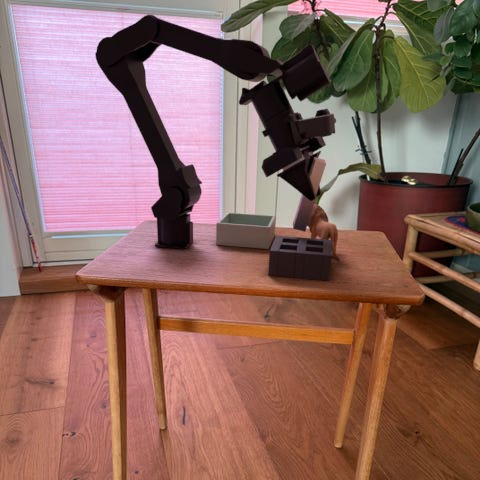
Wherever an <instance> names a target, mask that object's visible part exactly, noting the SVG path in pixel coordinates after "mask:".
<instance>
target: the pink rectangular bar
mask: <svg viewBox="0 0 480 480" xmlns="http://www.w3.org/2000/svg"><path fill="white" fill-rule="evenodd" d="M326 166H327V162H326V160H325V159H323V158H320V157H318V158H316V157H314V159H313V163H312V166H311V169H310V172H309V176H310V180H311V183H312V186H313V189H314V192H315V196H316V194H317V191H318V188H319V185H320V184H321V182H322V178H323V175H324V172H325V169H326ZM316 200H317V198H316V199H314V200H312V201H310V200H309V199H307V198H306V197H305V196H304V195H303V194H301V195H300V199H299V202H298V205H297V208H296V212H295V214H294V218H293V221H292V229H293V230H295V231H300V232H306V230H307V227H308V226H307V225H308V222H309V219H310V215H311V212H312V209H313V206H314V204H316Z"/></svg>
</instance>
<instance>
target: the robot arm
mask: <svg viewBox="0 0 480 480" xmlns="http://www.w3.org/2000/svg"><path fill="white" fill-rule="evenodd" d="M162 45H163V46H165V47H168V48H172V49H175V50H178V51H181V52H184V53H187V54H190V55H192V56H194V57H198V58H201V59H204V60H206V61H210V62H212V63H213V64H215V65H217V66H218V67H220V68H222V69H223V70H225V71H226V72H228V73H230V74H231V75H233V76H235V77H236V78H238V79H241V80H243V81H247V82H251V83H257V84H256V85H254V86H253V87H251V88H250V89H249V88H247V87H242V88H241V94H240V97H239V99H238V104H239V105H240V106H248V105H249V104H251V103H252V104H251V105H253V108H254V110H255V112H256V114H257V115H258V118H259V120H260V122H261V124H262V126H263V131H261V133H262V135H263V137H264V138H266V137H268V138H269V140H270V143H271V145H272V146H273V149H274V152H273V153H272V154H271V155H268V157H266V158H264V159H263V160H262V165H261V170H262V173H263V174H264V175H265V178H268V177H270V176H272V175H274V174H275V173H277V174H276V177H278V178H281V179H282V180H283V181H285V182H286V183H287V184H289V185H290V186H291V187H293V189H295V190H296V191H298V192H299V193H300V194H301V195H302V194H303V195H304V196H305V197H306V198H307V199H309V200H310V201H312V200H314V199H316V200H317V197H318V196H321V194H322V191H321V186H320V185H319V188H318V191H317V194H316V196H315V192H314V189H313V186H312V183H311V180H310V176H309V172H310V169H311V166H312V163H313V159H314V157H316V158H320V155H321V153H322V150H320V149H322V148H324V147H326V146H327V144H326V141H325V140H324V138H325V137H330V136H332V135H333V134H336V125H335V124H336V123H337V119H336V117H335V114H334V113H331V112H330V110H329V108H323V109H318V110H316V112H315V115H314V116H312V117H307V118H303V116H302V114H301V113H300V112H299V111H297V112H295V111H294V109H293V107H292V105H291V103H290V100H294V99H296V98H297V99H298V100H299V102H303V101H304V100H306V99H308V98H309V97H311V96H313V95H314V94H316V93H317V92H319V91H320V90H322V89H324V88H325V87H327V86H329V85H330V84H331V78H330V77H329V74H328V71H327V69H326V66H325V64H324V63H323V62H322V61H321V59H320V57H319V55H318V53H317V50H316V49H315V47H314V45H313V44H312V43H308V44H307V45H305V46H304V47H303V48H302V49H301V50H300V51H299V52H297V53H296V54H295V55H293V56H292V57H290V58H288V59H287V60H285V61H284V62H283V61H281V60H280V59H277V58H275V59H272V58H271V55H270V53H269V50H267V48H265V47H264V46H262V45H260V44H258V43H256V42H254V40H248V39H238V38H221V37H215V36H212V35H210V34H209V35H208V34H206V33H203V32H200V31H197V30H194V29H192V28H188V27H185V26H182V25H179V24H176V23H173V22H170V21H167V20H164V19H163V18H161V17H158V16H156V15H154V14H150V13H149V14H146V15H144V16H143V17H141V18H140V19H138V20H137V21H136V22H134V23H133V24H131V25H128V26H126V27H125V28H123V29H122V28H121V29H120V30H118V31H117V32H116V33H114V34H113V35H111V36H106V37H103V38H102V39H101V40H100V41H99V42H98V44H97V46H96V52H94V53H95V60H96V63H97V65H98V67H99V68H100V70H101V71H102V72H103V75H104V76H105V78H107V81H109V83H110V84H111V85H112V86H113V87H114V88H115V89H116V90H117V91H118V92H119V93H120V94H121V95H122V97H123V99H124V101H125V103H126V105H127V107H128V109H129V112H130V114H131V115H132V118H133V119H134V122H135V124H136V126H137V129H138V130H139V133H140V135H141V137H142V139H143V141H144V144H145V146H146V147H147V150H148V151H149V153H150V156H151V158H152V160H153V162H154V164H155V167H156V169H157V184H158V188H159V191H160V195H161V196H160V197H159V198H158V199H157V200H156V202H154V204H153V205H152V206H150V209H151V212H152V215H153V217H154V218H155V219H156V230H157V231H156V233H157V235H156V236H157V242H155V243H154V247H155V248H157V247H158V248H170V249H179V250H180V249H181V250H185V249H187V248H188V247H190V245H191V244H192V243H193V242H194V222H193V221H191V213H192V212H193V210H194V207H195V205H196V204H198V202H199V201H200V199H201V196H202V193H203V191H202V186H201V185H202V184H203V181H201V179H200V178H199V176H198V175H197V172H196V168H195V165H194V164H188V165H185V163H184V162H183V161H182V160H181V159H180V158H179V155H178V153H177V151H176V149H175V146H174V144H173V142H172V140H171V138H170V135H169V133H168V130H167V129H166V127H165V124H164V123H163V121H162V118H161V115H160V114H159V111H158V108H157V107H156V105H155V103H154V101H153V98H152V96H151V94H150V92H149V89H148V86H147V76H146V75H147V74H146V68H145V64H144V62H146V61H147V60H149V59H150V58H151V57H152V56H153V54H154V53H155V52H156V50H157V49H159V47H160V46H162ZM266 77H270V78H271V77H272V78H274V79H272V80H271V81H270V82H267V81H265V79H266ZM282 83H283V85H282ZM283 86H284V87H283ZM284 89H285V90H286V92H287V94H288V96H289V97H290V100H289V98H288V96H287V94H286V92H285V90H284ZM318 150H319V151H318ZM281 170H282V171H281ZM279 171H281V172H279ZM278 172H279V173H278Z"/></svg>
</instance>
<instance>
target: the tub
mask: <svg viewBox="0 0 480 480" xmlns="http://www.w3.org/2000/svg"><path fill="white" fill-rule="evenodd" d="M276 220H277V215H268V214H257V213H256V214H255V213H240V212H226V213H225V214H224V215H223V216H222V217H221V218H220V219H219V220H218V221H217V222H216V233H215V236H216V237H215V239H216V240H215V241H216V242H215V244H216V246H227V247H238V248H240V247H241V248H251V249H264V250H270V248H271V246H272V243H273V241H274V239H275V237H276V234H275V233H276Z"/></svg>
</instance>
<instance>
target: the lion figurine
mask: <svg viewBox="0 0 480 480" xmlns="http://www.w3.org/2000/svg"><path fill="white" fill-rule="evenodd" d="M307 227H308V229H309V232H310V238H313V239H317V237H318V238H319V239H326V240H332V258H334V259H335V261H337V262H341V258H340V257H339V256H338V254H337V244H338V238H339V231H338V228H337V225H336V224H335V223H332V222H329V217H328V214H327V213H326V212H325V209H323V207H321V206H320V205H318V203H314V206H313V209H312V212H311V215H310V219H309V222H308V225H307Z"/></svg>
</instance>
